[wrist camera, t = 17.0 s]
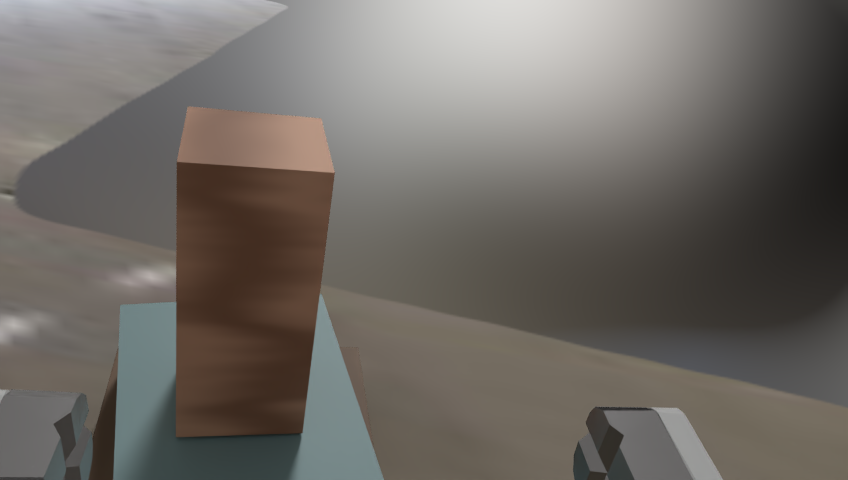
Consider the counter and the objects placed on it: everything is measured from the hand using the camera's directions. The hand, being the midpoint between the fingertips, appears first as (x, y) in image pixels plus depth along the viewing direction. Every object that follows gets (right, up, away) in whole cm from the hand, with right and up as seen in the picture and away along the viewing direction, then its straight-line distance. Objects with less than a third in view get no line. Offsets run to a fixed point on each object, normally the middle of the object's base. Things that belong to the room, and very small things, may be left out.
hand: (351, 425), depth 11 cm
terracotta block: (-7, -4, +19) cm, 21 cm away
